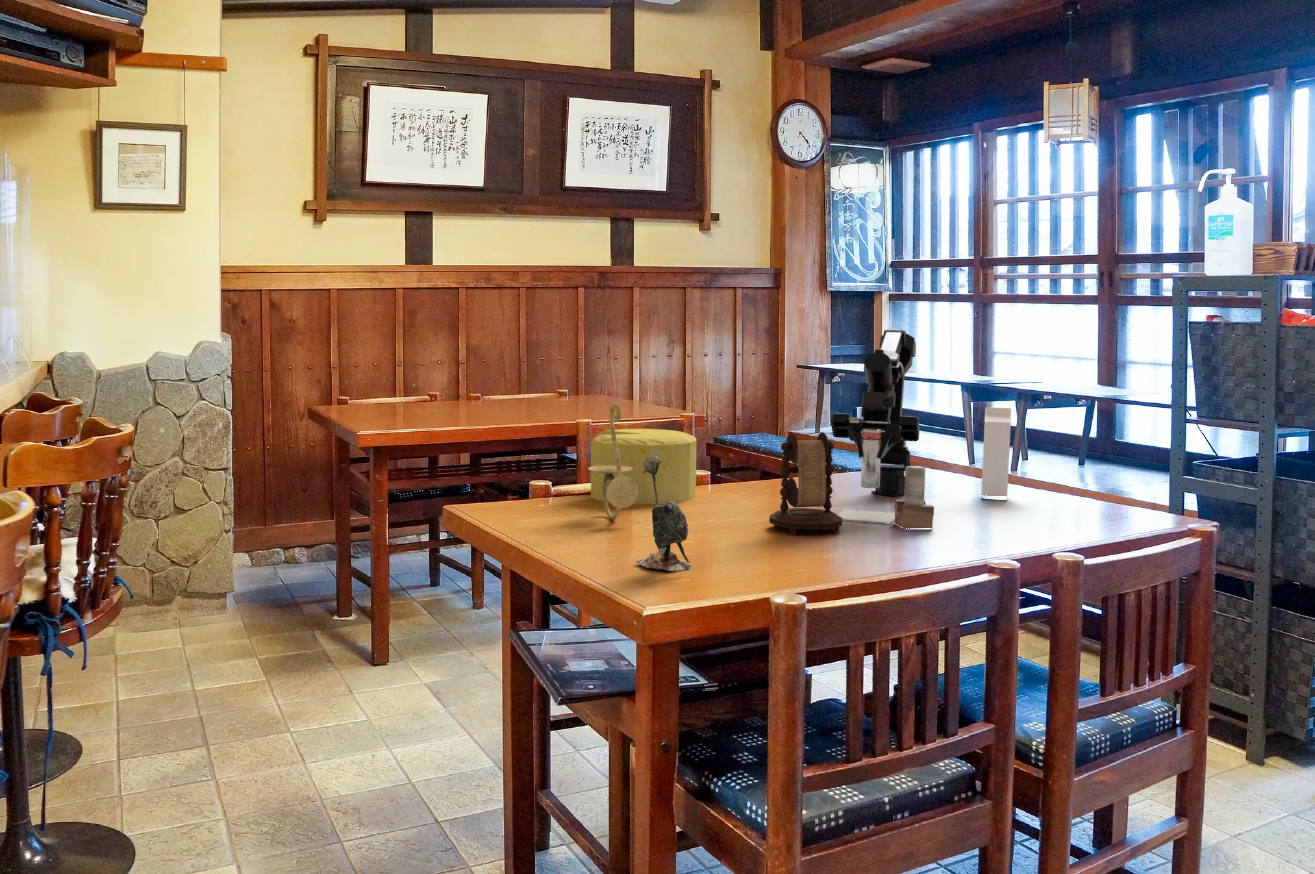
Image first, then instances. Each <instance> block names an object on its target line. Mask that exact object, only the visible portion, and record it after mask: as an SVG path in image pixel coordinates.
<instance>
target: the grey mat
mask: <svg viewBox="0 0 1315 874" xmlns="http://www.w3.org/2000/svg"><path fill="white" fill-rule="evenodd" d="M837 515H838V516H840V517H841V518H842V522H849V523H850V522H851V523H863V522H869V523H868V524H876V523H891V522H892V521H893V520H894V518H895V512H888V511H886V512H885V511H884V512H883V511H874V510H873V511H871V510H861V509H860V510H858V509H846V508H845V509H842V511H840V513H838V514H837ZM894 521H895V520H894ZM894 521H893V522H894ZM893 522H892V523H893ZM892 523H891V524H892Z"/></svg>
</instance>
